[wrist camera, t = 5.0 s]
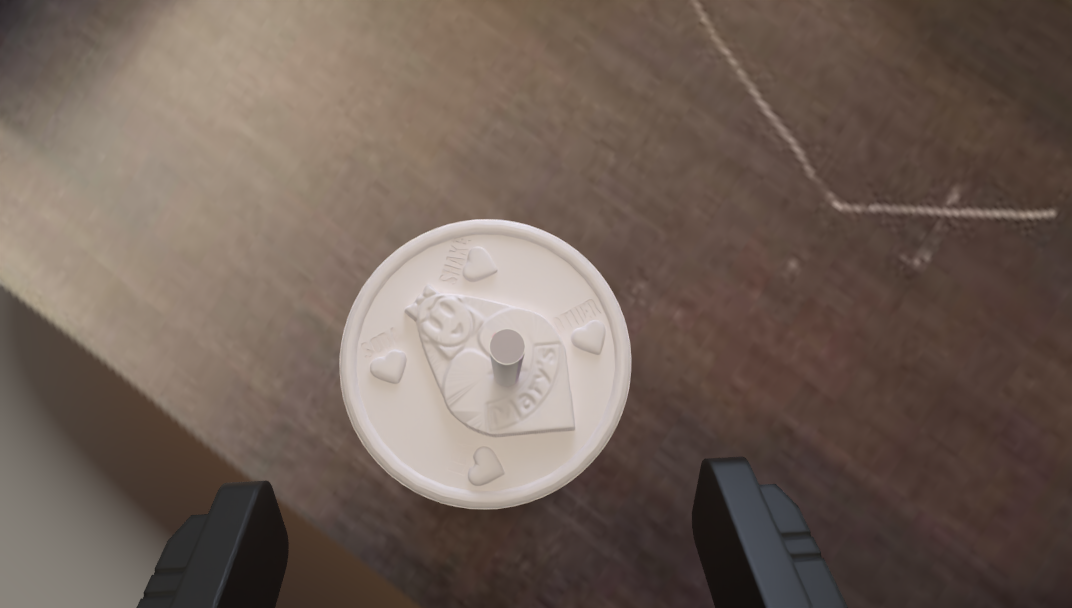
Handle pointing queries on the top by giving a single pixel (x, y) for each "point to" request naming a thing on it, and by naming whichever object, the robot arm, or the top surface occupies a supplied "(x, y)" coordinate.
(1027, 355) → the top surface
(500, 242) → the smoothie
